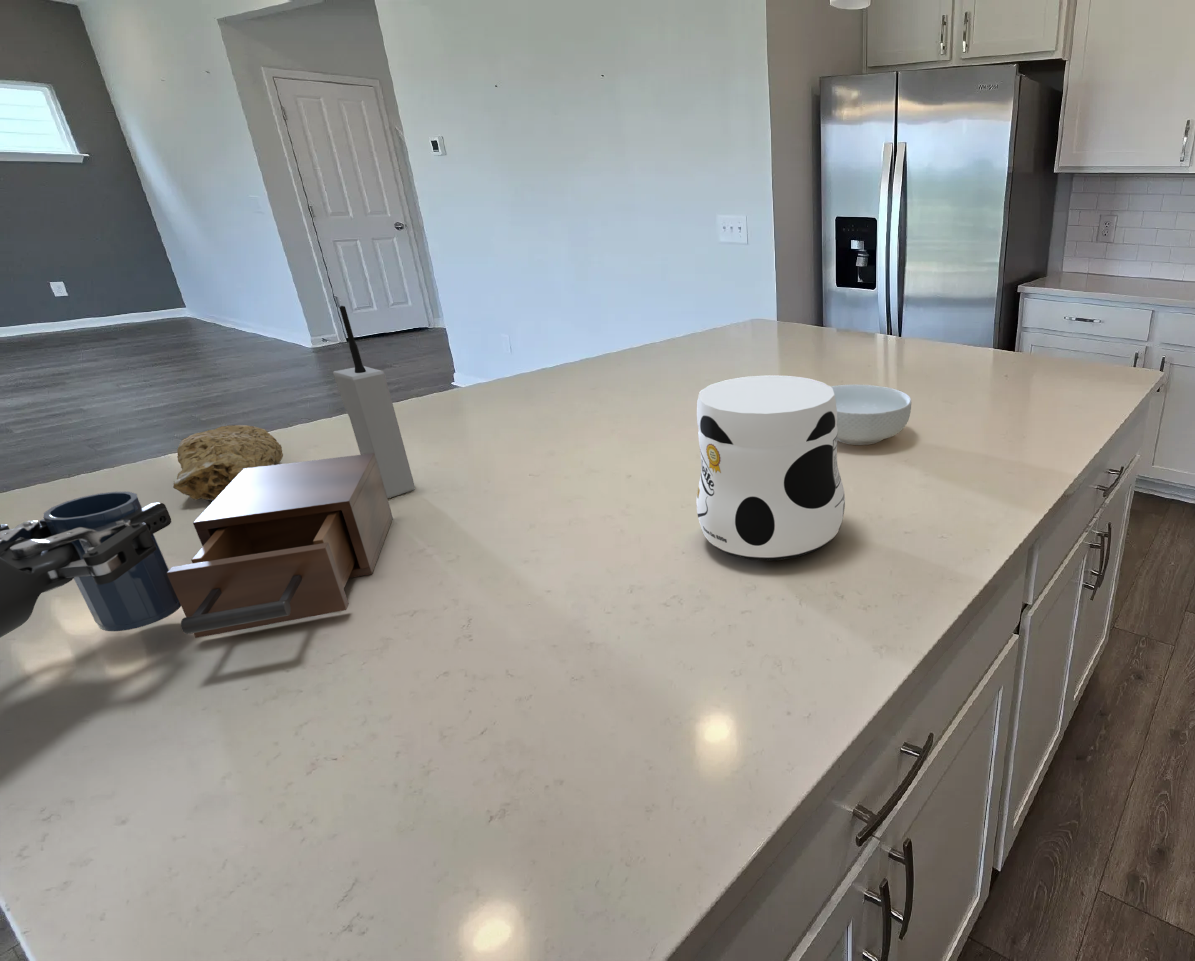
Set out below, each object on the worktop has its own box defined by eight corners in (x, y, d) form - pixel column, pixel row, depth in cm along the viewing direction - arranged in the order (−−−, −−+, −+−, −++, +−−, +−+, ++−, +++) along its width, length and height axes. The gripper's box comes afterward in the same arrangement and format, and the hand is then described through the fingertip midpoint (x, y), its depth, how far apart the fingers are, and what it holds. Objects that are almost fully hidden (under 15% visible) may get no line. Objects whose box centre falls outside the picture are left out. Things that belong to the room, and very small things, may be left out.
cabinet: (372, 574, 76) (349, 501, 72) (224, 600, 71) (192, 522, 67) (393, 517, 88) (374, 452, 84) (268, 536, 83) (243, 468, 80)
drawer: (332, 646, 63) (308, 580, 60) (166, 679, 58) (132, 610, 55) (371, 547, 79) (354, 491, 76) (244, 567, 75) (222, 509, 72)
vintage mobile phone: (396, 482, 98) (345, 301, 88) (416, 489, 96) (366, 304, 86) (367, 491, 95) (312, 305, 85) (387, 499, 93) (332, 309, 83)
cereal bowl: (904, 459, 108) (906, 415, 105) (799, 452, 110) (798, 409, 107) (913, 424, 123) (915, 385, 120) (821, 418, 125) (821, 380, 123)
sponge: (282, 503, 94) (305, 430, 109) (247, 457, 89) (275, 387, 104) (167, 536, 91) (206, 456, 105) (123, 489, 86) (171, 412, 100)
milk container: (674, 532, 85) (658, 389, 78) (790, 494, 95) (786, 365, 88) (750, 591, 73) (740, 429, 66) (874, 542, 83) (877, 396, 76)
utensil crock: (85, 637, 60) (27, 524, 56) (116, 604, 65) (65, 497, 61) (168, 623, 62) (118, 513, 58) (192, 591, 67) (148, 487, 63)
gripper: (-8, 572, 46) (196, 473, 61) (-247, 577, 45) (21, 475, 61) (44, 665, 49) (226, 547, 64) (-180, 671, 48) (59, 550, 64)
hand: (126, 513), depth 62 cm, fingers closed on utensil crock, 5 cm apart
